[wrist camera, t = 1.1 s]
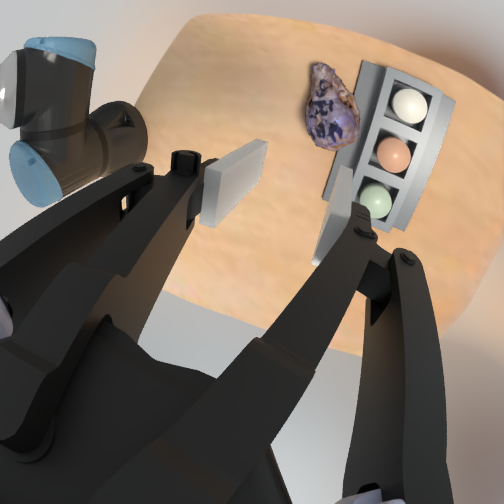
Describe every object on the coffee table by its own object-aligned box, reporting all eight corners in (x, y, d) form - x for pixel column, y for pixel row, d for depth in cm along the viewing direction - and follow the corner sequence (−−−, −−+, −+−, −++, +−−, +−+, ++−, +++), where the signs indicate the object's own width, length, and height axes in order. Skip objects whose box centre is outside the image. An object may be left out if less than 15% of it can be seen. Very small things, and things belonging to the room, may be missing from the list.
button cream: (387, 113, 30) (389, 114, 28) (396, 83, 27) (399, 83, 25) (417, 126, 29) (421, 129, 27) (426, 97, 26) (431, 97, 25)
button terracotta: (372, 160, 34) (373, 165, 32) (382, 131, 31) (383, 133, 29) (401, 172, 33) (403, 177, 31) (411, 144, 31) (415, 147, 29)
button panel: (322, 197, 42) (319, 206, 39) (363, 60, 29) (364, 57, 26) (403, 229, 40) (406, 240, 37) (454, 101, 27) (462, 102, 24)
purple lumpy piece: (303, 65, 32) (290, 60, 28) (358, 65, 29) (353, 58, 24) (309, 145, 38) (297, 152, 34) (362, 148, 35) (358, 156, 30)
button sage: (355, 205, 38) (355, 211, 36) (365, 177, 36) (366, 183, 34) (383, 215, 37) (384, 223, 36) (394, 189, 35) (396, 195, 33)
